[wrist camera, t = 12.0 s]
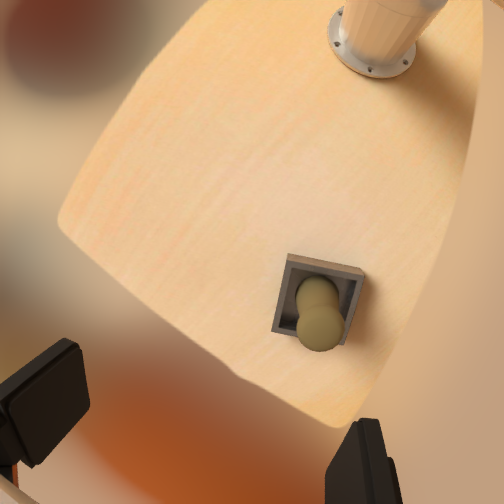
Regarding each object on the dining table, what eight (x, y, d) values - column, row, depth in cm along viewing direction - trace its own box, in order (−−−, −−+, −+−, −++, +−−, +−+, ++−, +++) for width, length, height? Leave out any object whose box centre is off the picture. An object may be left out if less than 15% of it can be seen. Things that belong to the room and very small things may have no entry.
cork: (304, 269, 40) (305, 300, 30) (346, 284, 40) (360, 319, 29) (288, 309, 42) (283, 350, 31) (328, 323, 41) (335, 367, 31)
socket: (287, 253, 41) (286, 259, 38) (360, 268, 40) (364, 275, 37) (273, 320, 44) (271, 331, 40) (340, 333, 43) (343, 345, 39)
